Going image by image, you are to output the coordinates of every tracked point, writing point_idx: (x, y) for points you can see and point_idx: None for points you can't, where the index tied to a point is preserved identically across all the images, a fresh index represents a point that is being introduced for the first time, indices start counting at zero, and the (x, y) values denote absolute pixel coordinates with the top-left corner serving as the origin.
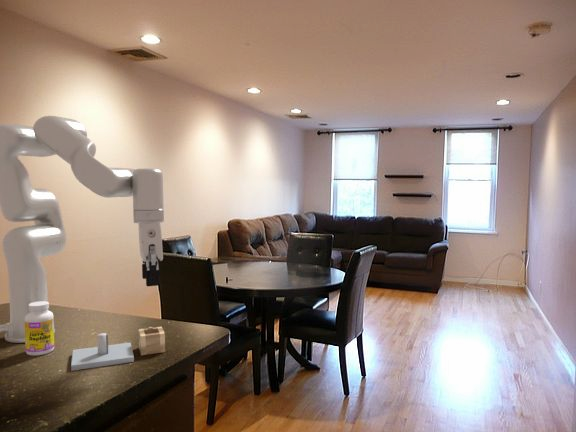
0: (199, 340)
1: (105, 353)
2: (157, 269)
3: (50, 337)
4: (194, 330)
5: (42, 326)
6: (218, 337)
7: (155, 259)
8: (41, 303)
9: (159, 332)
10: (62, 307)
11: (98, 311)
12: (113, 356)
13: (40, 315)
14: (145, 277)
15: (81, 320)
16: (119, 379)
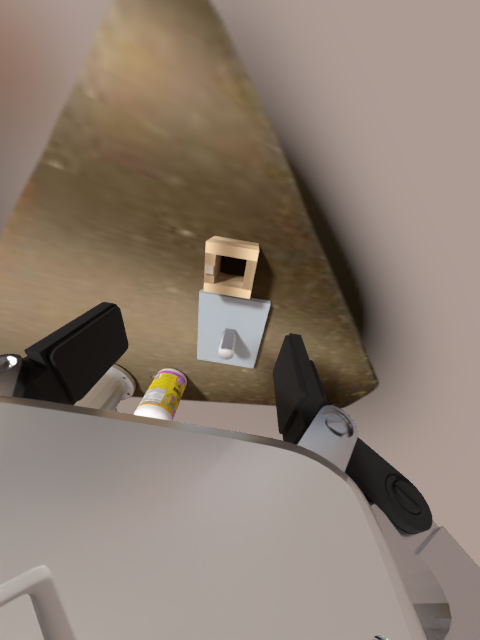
0: (229, 133)
1: (236, 333)
2: (344, 418)
3: (174, 386)
4: (142, 111)
5: (173, 409)
6: (232, 47)
7: (476, 572)
8: None
9: (247, 259)
10: None
11: None
12: (250, 326)
13: None
14: (124, 342)
15: (40, 324)
16: (318, 329)
